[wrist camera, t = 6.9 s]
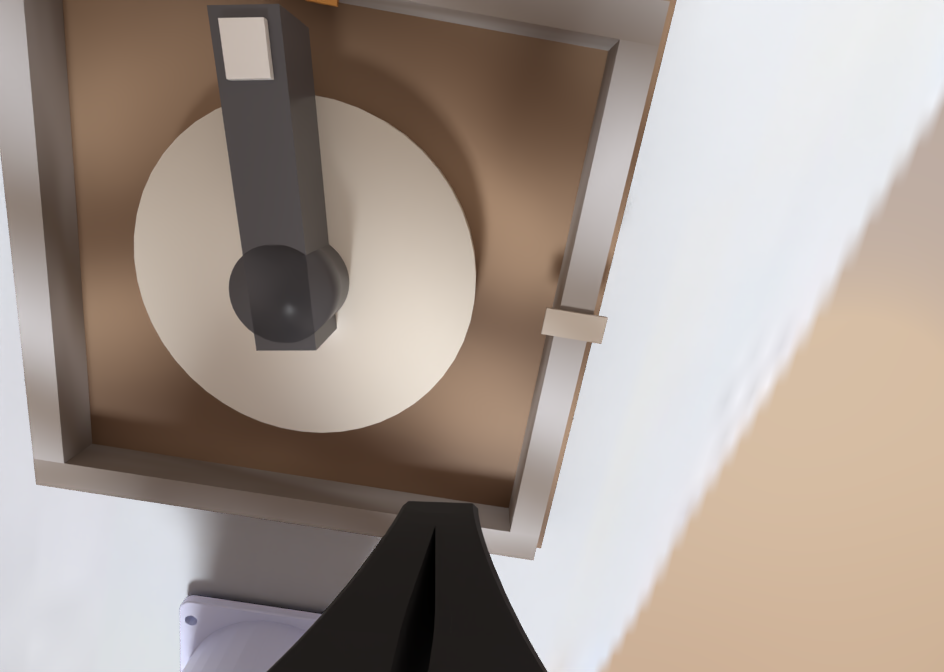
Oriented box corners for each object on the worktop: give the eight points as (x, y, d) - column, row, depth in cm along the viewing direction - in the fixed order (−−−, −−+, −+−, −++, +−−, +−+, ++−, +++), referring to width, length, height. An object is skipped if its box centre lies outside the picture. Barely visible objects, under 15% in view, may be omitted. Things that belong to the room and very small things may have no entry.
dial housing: (536, 522, 21) (544, 576, 18) (83, 452, 20) (19, 496, 17) (658, 14, 15) (697, -20, 13) (43, -98, 15) (-60, -161, 12)
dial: (477, 418, 18) (475, 471, 14) (185, 418, 18) (123, 469, 15) (474, 34, 14) (471, -3, 11) (112, 41, 14) (11, 5, 11)
